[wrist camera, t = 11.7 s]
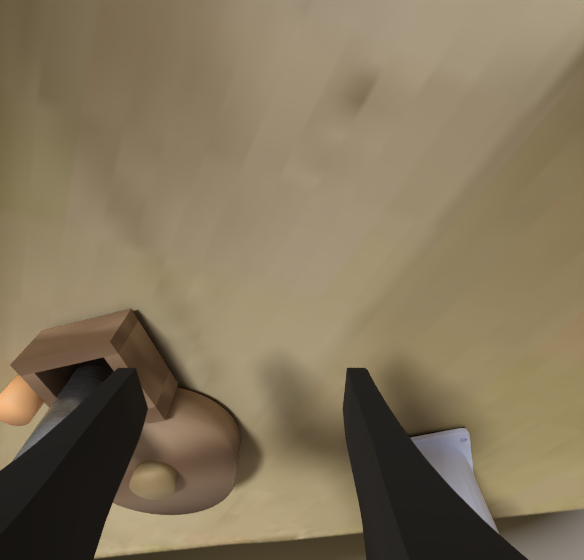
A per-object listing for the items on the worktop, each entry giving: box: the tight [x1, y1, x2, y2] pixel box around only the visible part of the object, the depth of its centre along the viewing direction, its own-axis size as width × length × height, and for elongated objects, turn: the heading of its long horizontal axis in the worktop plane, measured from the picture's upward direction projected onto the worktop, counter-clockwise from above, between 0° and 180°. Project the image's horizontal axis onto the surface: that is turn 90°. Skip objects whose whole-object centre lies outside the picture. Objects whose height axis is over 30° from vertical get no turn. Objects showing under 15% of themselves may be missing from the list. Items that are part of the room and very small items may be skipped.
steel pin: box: [12, 357, 114, 462], centre depth 21 cm, size 3×3×8 cm
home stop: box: [0, 374, 44, 426], centre depth 24 cm, size 2×2×3 cm
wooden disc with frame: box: [11, 309, 241, 515], centre depth 25 cm, size 17×11×4 cm, turn 16°
